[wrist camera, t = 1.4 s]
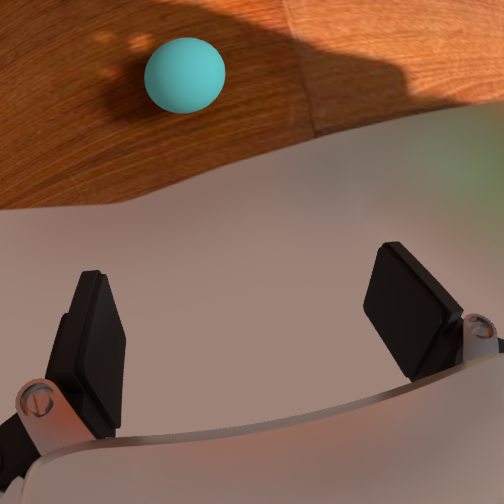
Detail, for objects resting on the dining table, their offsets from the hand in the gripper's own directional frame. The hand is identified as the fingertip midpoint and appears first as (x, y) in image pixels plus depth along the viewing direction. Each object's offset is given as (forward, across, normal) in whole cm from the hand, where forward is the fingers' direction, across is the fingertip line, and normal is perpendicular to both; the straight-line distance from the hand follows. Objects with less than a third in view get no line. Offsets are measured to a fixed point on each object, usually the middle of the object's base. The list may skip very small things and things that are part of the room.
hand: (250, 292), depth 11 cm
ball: (+17, +2, -6) cm, 18 cm away
